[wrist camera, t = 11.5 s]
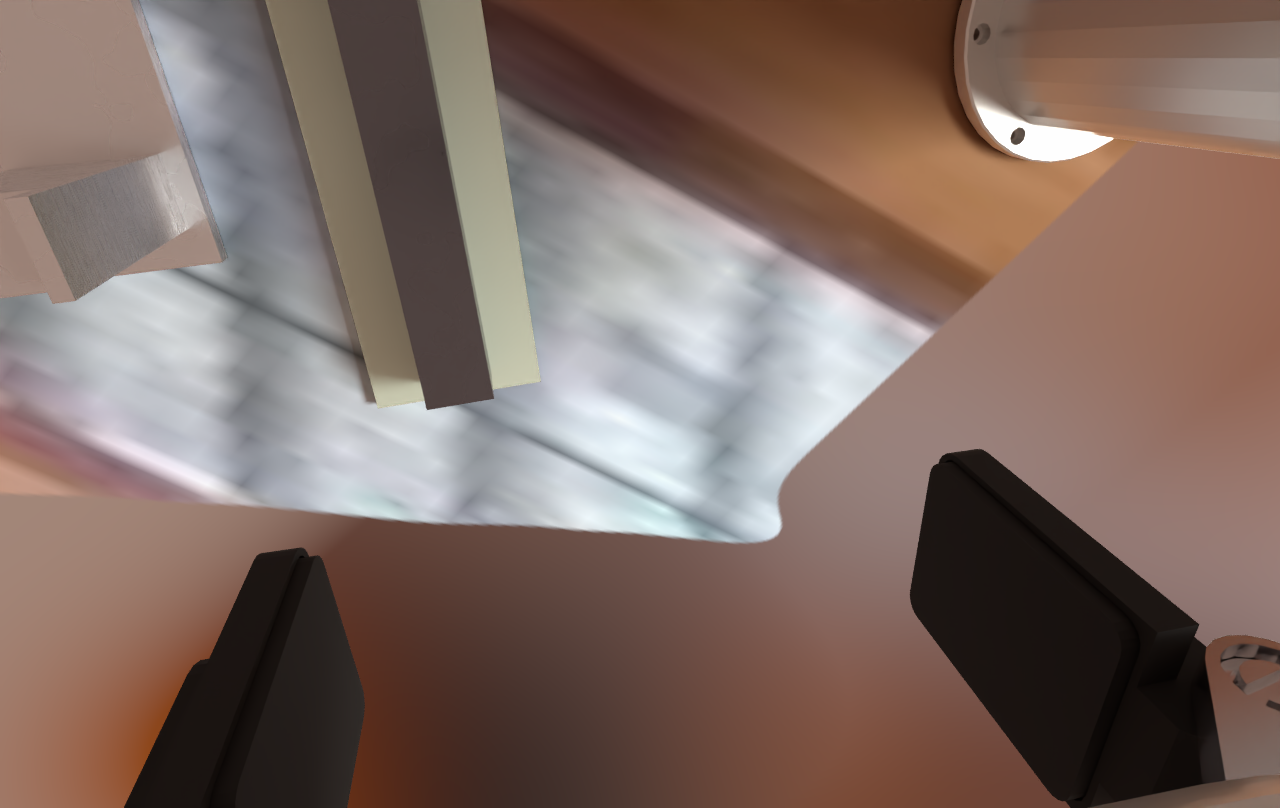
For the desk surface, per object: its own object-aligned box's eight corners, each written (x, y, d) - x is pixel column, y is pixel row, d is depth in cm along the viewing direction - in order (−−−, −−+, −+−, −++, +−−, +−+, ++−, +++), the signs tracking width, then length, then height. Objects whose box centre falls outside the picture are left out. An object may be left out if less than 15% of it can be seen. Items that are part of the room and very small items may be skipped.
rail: (369, -263, 25) (358, -305, 22) (491, 371, 35) (494, 398, 33) (277, -262, 24) (253, -304, 21) (429, 381, 35) (427, 410, 32)
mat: (433, -296, 25) (433, -303, 24) (539, 377, 37) (540, 381, 36) (187, -294, 24) (181, -302, 23) (379, 403, 35) (378, 408, 35)
